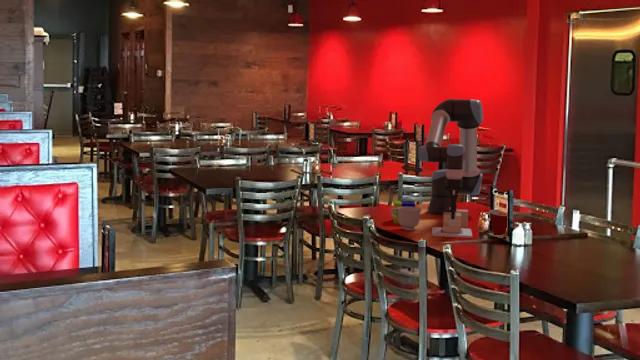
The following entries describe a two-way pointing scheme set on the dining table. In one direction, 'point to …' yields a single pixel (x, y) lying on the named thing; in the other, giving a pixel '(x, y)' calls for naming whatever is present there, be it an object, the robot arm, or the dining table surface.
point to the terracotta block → (463, 218)
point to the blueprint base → (439, 232)
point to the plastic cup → (498, 222)
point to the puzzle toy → (401, 204)
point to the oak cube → (447, 221)
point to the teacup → (407, 216)
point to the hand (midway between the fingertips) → (452, 223)
